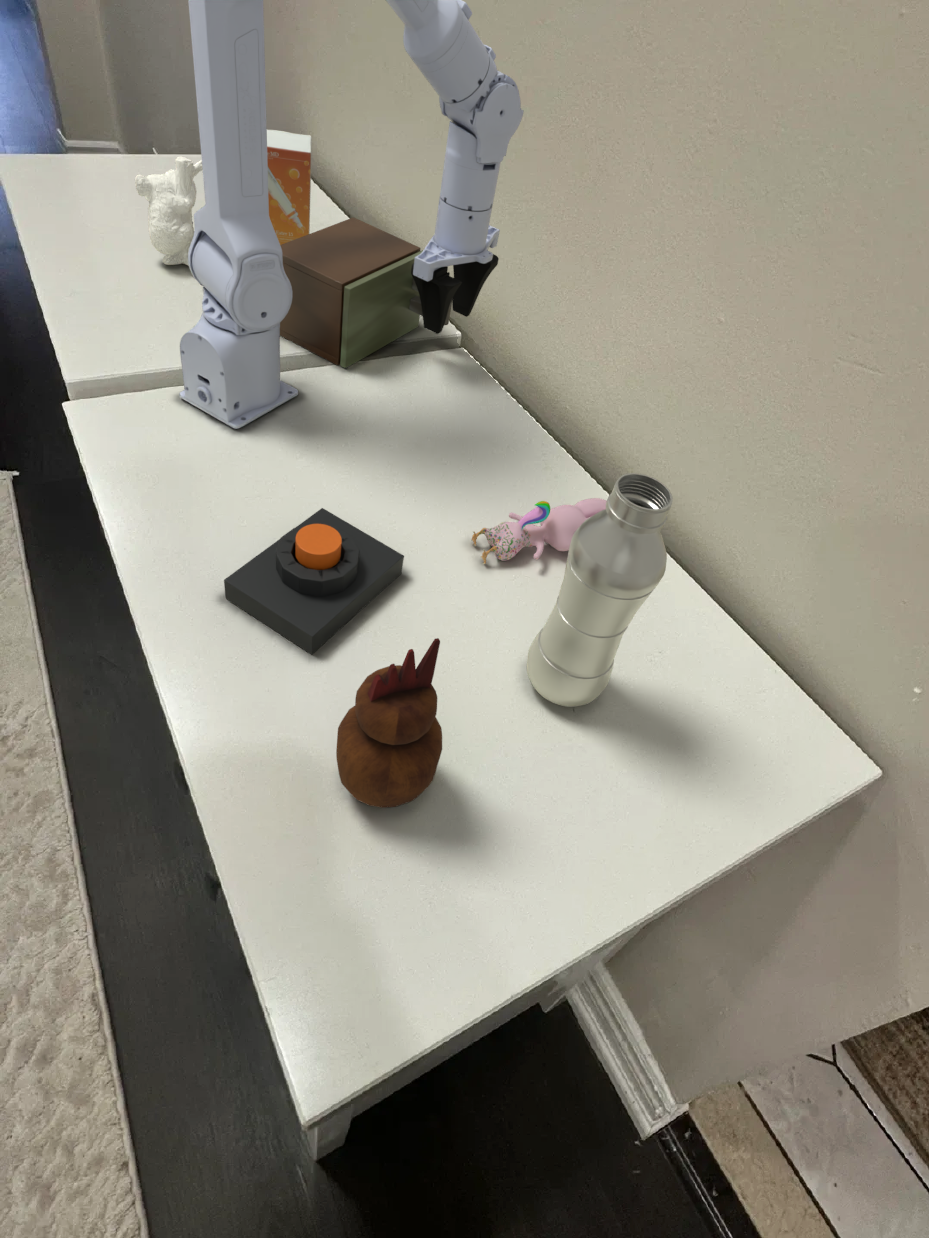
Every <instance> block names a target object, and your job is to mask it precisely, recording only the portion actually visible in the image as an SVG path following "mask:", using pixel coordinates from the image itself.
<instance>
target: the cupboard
mask: <svg viewBox="0 0 929 1238" xmlns="http://www.w3.org/2000/svg"><path fill="white" fill-rule="evenodd" d="M280 246H281V249H282V259H283V268H284V271H285V274H286V275H287V277H288V279H289V281H290V283H291V286H292V303H291V306H290V309H289V311H288V313H287V315H286V316H285V318H284V319H283V320H282V321H281V322H280V337H282V338H284V339H285V340H288V341H290V342H291V343H293V344H296V346H299V347H301V348H303V349H305V350H307V351H309V352H311V353H313V354H314V355H317V356H319V357H320V358H322V359H324V360H326V361H328V362H329V363H332V364H334V365H336V366H338V367H339V366H340V361H341V342H342V323H343V304H344V287H345V286H347V285H349V284H351V283H353V282H355V281H357V280H359V279H362V278H364V277H366V276H368V275H370V274H372V273H375V272H377V271H379V270H381V269H383V268H385V267H387V266H390V265H392V264H394V263H396V262H398V261H400V260H402V259H405V258H407V257H409V256H411V255H413V254H415V253H418V252H420V251H422V249H421V247H420V246H418V245H415V244H413V243H411V242H409V241H406V240H405V239H402V238H401V237H398V236H396V235H394V234H391V233H389V232H387V231H385V230H382V229H381V228H378V227H376V226H373V225H372V224H369V223H367V222H364V221H363V220H360V219H358V218H356V217H354V216H352V217H351V218H348V219H345V220H342V221H340V222H338V223H335V224H332V225H330V226H327V227H324V228H322V229H319V230H317V231H314V232H311V233H309V234H308V235H306V236H303V237H300V238H298V239H295V240H292V241H290V242H287V243H284V244H282V245H280Z"/></svg>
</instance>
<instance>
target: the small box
mask: <svg viewBox="0 0 929 1238" xmlns="http://www.w3.org/2000/svg"><path fill="white" fill-rule="evenodd" d="M312 142H313V136H312V135H310V134H301V133H294V132H289V131H283V130H276V129H267V161H268V199H269V217H270V220H271V223H272V226H273V228H274V231H275V233H276V236H277V238H278V241H279V243H280V245H282V244H284V243H287V242H290V241H292V240H295V239H298V238H300V237H303V236H306V235H308V234H310V231H311V229H310V228H311V227H310V226H311V189H312V186H311V185H312V151H313V150H312V149H313V148H312V146H313V145H312V144H313V143H312Z"/></svg>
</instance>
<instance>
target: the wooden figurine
mask: <svg viewBox="0 0 929 1238" xmlns="http://www.w3.org/2000/svg"><path fill="white" fill-rule="evenodd" d="M440 645H441V640H440V638H438V637H437V638H434V640H432V643H431V644H430V645H429V647H428V649H427V650H426V652H425V653H424V655H423V657H422V658H421V660H420V662H418V665H417V666H416V659H415V658H416V657H415V656H416V655H415V650H414V649H413V648H410V649H408V650H407V653H406V655H405V657H404V660H403V662H402V664H398V665H396V664H395V663H391V664H390V665H389V666H385V667H382V668H379V669H377V670H375V671H374V672H372V673H370V674H369V675H367V676H366V677H365V679H364V680H363V681H362V682H361V684H360V686H359V687H358V689H357V690H356V693H355V702H354V706H352V707H350V708H349V709H348V710H347V711H346V713H345V715H344V717H343V718H342V720H340V723H339V725H338V727H337V737H336V748H335V749H336V752H335V754H336V756H335V757H336V764H337V771H338V775H339V779H340V782H341V785H343V787H344V788H345V789H346V790H347V792H348V793H349V794H350V795H351V796H352V797H353V798H354V799H355V800H357V801H358V802H361V803H363V804H365V805H367V806H370V807H375V808H382V809H384V808H385V809H386V808H396V807H400V806H402V805H405V804H408V803H411V802H413V801H414V800H416V799H418V797H420V795H421V794H423V793H424V792H425V791H426V790H427V789H428V788H429V786H430V785H431V784H432V783H433V781H434V779H435V775H436V773H437V769H438V765H439V762H440V759H441V755H442V751H443V731H442V726H441V724H440V722H439V721H438V718H437V717H436V716H437V711H438V694H437V691H436V689H435V687H434V686H433V684H432V683H433V679H434V674H435V670H436V665H437V660H438V655H439V650H440Z"/></svg>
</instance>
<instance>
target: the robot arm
mask: <svg viewBox="0 0 929 1238" xmlns="http://www.w3.org/2000/svg"><path fill="white" fill-rule="evenodd" d="M385 1H386V3H387V4H388V5H389V7H390V8H391V9H392V10H393V12H394V13H395V14H396V15H397V17H398V18H399V19H400V21H401V22H402V23H403V24H404V27H403V36H402V39H403V40H402V41H403V48H404V50H405V52H406V54H407V55H408V56H409V57H410V59H411V60H412V62H413V64H415V66H416V67H417V69H418V70H419V71H420V73H421V74H422V75H423V76H424V78H425V79H426V81H427V82H428V83H429V85H430V86H431V87H432V89H433V90H434V91H435V93H436V94H437V95H438V101H439V108H440V112H441V114H442V115H443V116H445V117H447V119H449V122H448V123H449V124H448V131H447V139H446V145H445V154H444V161H443V167H442V176H441V183H440V191H439V198H438V206H437V213H436V220H435V221H436V222H435V227H434V234H433V235H432V237H431V238H430V239H429V241H428V243H427V244H426V245H425V247H424V249H422V250H423V252H422V253H421V254H420V255H418V256H416V257H415V260H414V263H413V264H412V268H411V275H412V277H413V279H414V281H415V283H416V286H417V289H418V292H419V296H420V300H421V306H422V314H423V316H422V321H423V328H424V329H425V330H427V331H430V332H432V333H434V334H437V335H438V334H440V333H442V331H443V329H444V327H445V326H444V324H445V321H446V317H447V313H448V309H449V306H450V303H451V300H452V305H451V307H452V311H453V312H455V313H457V314H460V315H461V316H464V317H466V318H468V317H469V316H470V315H471V313H472V311H473V308H474V307H475V304H476V302H477V300H478V298H479V295H480V294H481V293H480V292H481V291H482V289H483V286H484V285H485V283H486V281H487V279H488V278H489V276H490V275H491V274H492V272H493V271H494V270H495V269H496V267H497V266H498V265H499V260H500V259H499V256H498V255H496V254H494V253H493V252H492V251H490V250H489V249H495V248H496V247H497V246H498V243H499V242H498V241H499V237H500V231H501V230H500V229H499V228H497V227H494V226H492V225H490V223H491V216H492V211H493V206H494V201H495V196H496V190H497V183H498V178H499V173H500V168H501V163H502V162H503V160H504V157H507V151H508V147H509V143H510V141H511V139H512V137H513V136H514V135H515V134H516V132H517V130H518V129H519V127H520V125H521V122H522V120H523V116H524V113H525V112H524V109H522V108H521V107H522V106H521V105H522V104H521V103H522V102H521V96H520V91H519V86H518V85H517V83H516V81H515V80H514V79H513V78H512V77H510V76H509V75H508V74H506V73H503V72H502V71H500V70H498V67H497V64H496V61H495V59H496V58H497V55H496V53H495V51H494V50H493V48H492V47H491V46H489V45H487V44H484V43H483V41H482V39H481V37H479V35H478V33H477V30H476V29H475V28H474V26H473V25H472V23H471V22H470V18H471V17H472V15H473V11H472V9H471V8H470V6H469V5H468V3H467V2H466V1H464V0H385ZM264 12H265V10H264V0H188V14H189V25H190V34H191V35H190V37H191V38H190V39H191V47H192V48H191V49H192V60H193V61H192V62H193V73H194V74H193V75H194V84H195V96H196V97H195V98H196V107H197V119H198V131H199V133H198V134H199V145H200V154H201V155H200V156H201V157H200V158H201V160H202V169H203V170H202V179H203V180H202V181H203V191H204V193H203V194H204V205H203V206H202V207H201V208H199V209H198V210H196V211H195V212H194V214H193V225H194V226H193V228H194V236H193V239H192V242H191V245H190V247H189V252H188V264H189V266H188V268H189V271H190V273H191V275H192V277H193V278H194V279H195V281H196V282H197V283H198V284H199V285H200V286H202V295H203V296H202V301H201V311H202V313H201V315H200V317H199V319H198V321H197V322H196V324H195V325H194V326H193V327H192V328H190V329H189V330H188V331H187V332H185V333H184V334H183V335H182V337H181V338H180V342H179V356H180V363H181V364H180V365H181V372H182V379H183V380H182V381H183V389H184V390H181V391H180V392H179V398H180V399H182V400H184V401H185V402H187V403H189V404H190V405H192V406H194V407H196V408H197V409H200V410H201V411H203V412H205V413H207V414H208V415H210V416H212V417H213V418H215V419H217V420H218V421H220V422H222V423H224V424H226V425H227V426H229V427H230V428H232V429H235V430H236V429H237V430H238V429H240V428H242V427H244V426H246V425H248V424H250V423H252V422H253V421H255V420H256V419H258V418H260V417H262V416H264V415H265V414H268V412H271V411H272V410H274V409H276V408H277V407H279V406H281V405H282V404H285V403H287V402H288V401H290V400H292V399H293V398H295V397H297V396H298V395H299V390H298V389H297V388H295V387H293V386H292V385H290V384H288V383H286V382H284V381H282V380H281V336H280V322H281V321H282V320H283V319H284V318H285V316H286V315H287V313H288V311H289V309H290V306H291V303H292V286H291V283H290V281H289V279H288V277H287V275H286V274H285V271H284V268H283V259H282V249H281V246H280V243H279V241H278V238H277V236H276V233H275V231H274V228H273V226H272V223H271V220H270V217H269V199H268V161H267V130H268V128H267V124H268V123H267V91H266V86H267V85H266V55H265V52H266V51H265V16H264ZM451 266H452V268H453V271H452V272H453V277H452V276H451V275H450V274H451V273H450V271H449V272H448V270H449V267H451ZM452 298H453V299H452Z"/></svg>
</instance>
